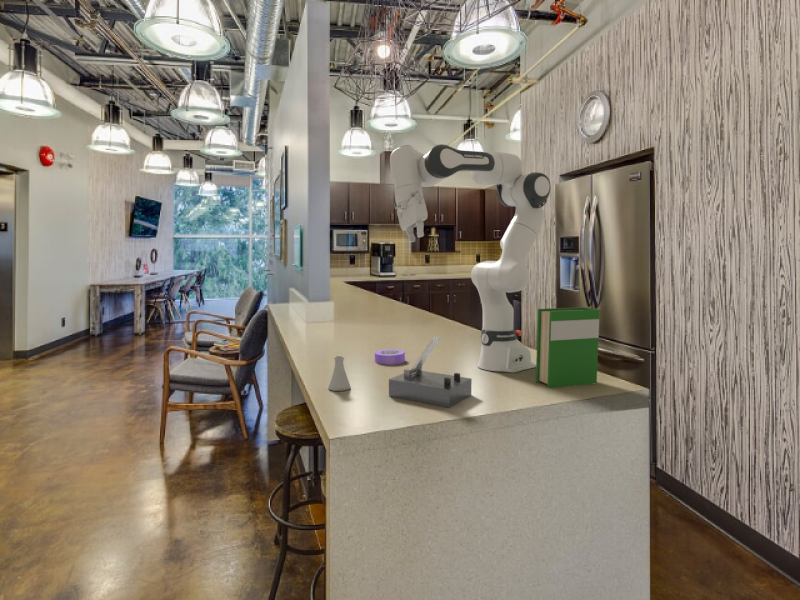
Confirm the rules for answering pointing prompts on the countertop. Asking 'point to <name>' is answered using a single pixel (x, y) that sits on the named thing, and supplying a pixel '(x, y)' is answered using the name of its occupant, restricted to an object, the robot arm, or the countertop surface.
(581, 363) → the hardback book
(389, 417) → the countertop surface
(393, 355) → the masking tape
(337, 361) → the flask
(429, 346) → the switch lever
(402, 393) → the lever switch box
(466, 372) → the countertop surface
